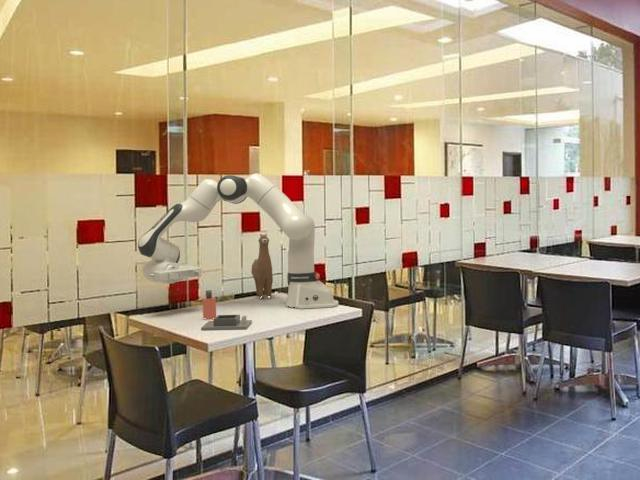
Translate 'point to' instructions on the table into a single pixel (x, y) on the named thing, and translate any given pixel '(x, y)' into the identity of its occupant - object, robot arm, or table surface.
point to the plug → (209, 306)
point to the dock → (227, 323)
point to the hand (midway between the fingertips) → (188, 275)
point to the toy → (263, 268)
